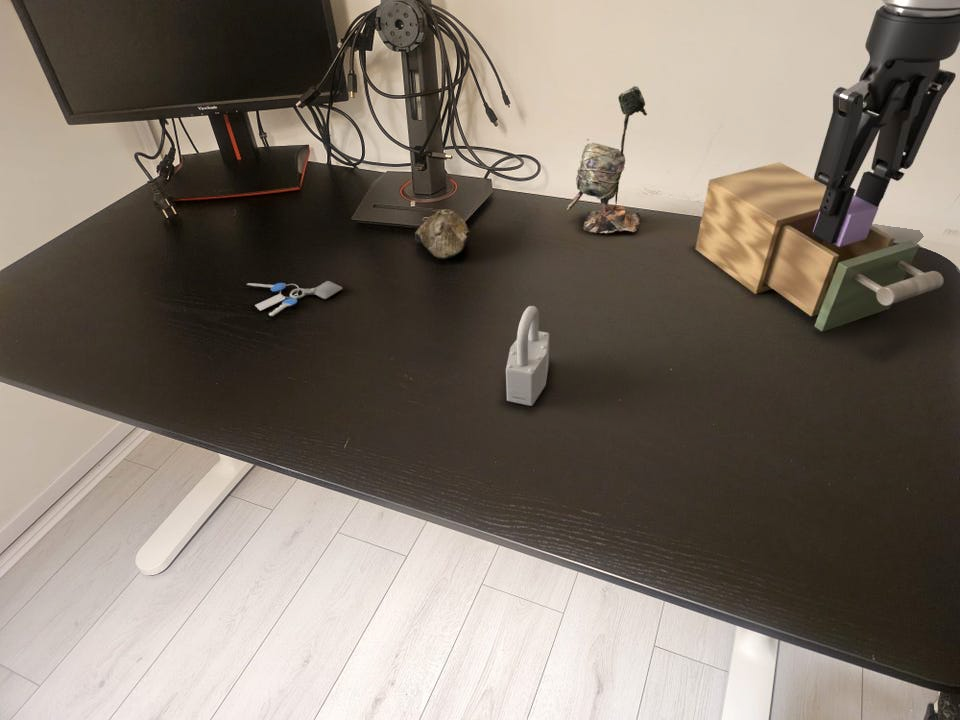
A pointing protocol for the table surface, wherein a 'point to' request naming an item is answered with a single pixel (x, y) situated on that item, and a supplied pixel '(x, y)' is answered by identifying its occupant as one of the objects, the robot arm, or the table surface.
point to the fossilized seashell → (443, 234)
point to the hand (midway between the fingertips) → (840, 233)
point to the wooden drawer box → (753, 218)
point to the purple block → (856, 222)
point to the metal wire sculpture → (608, 175)
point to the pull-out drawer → (844, 273)
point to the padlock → (527, 360)
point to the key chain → (321, 291)
